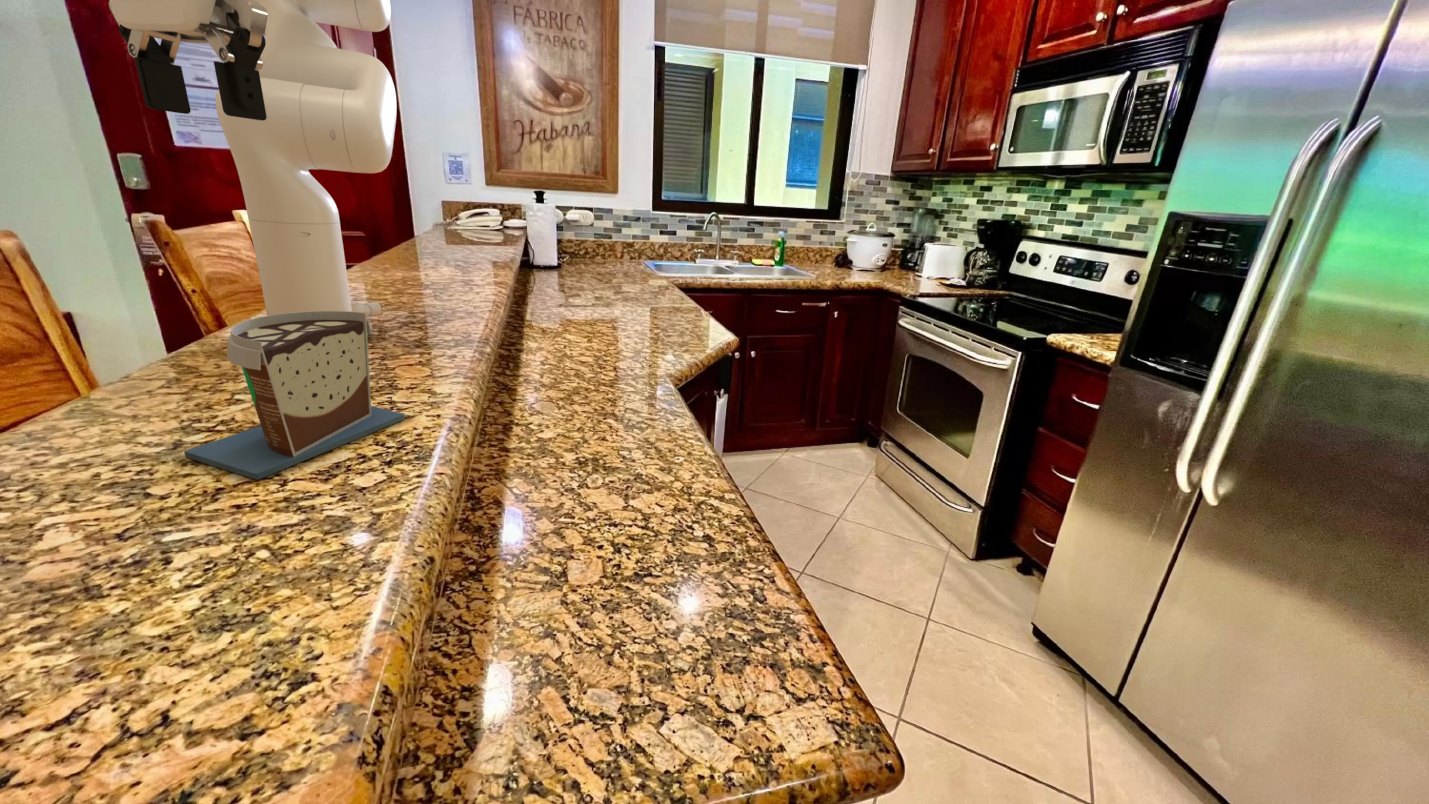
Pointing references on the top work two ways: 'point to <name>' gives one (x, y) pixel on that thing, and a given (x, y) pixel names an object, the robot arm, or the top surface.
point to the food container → (304, 374)
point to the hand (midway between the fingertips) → (206, 114)
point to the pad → (258, 460)
